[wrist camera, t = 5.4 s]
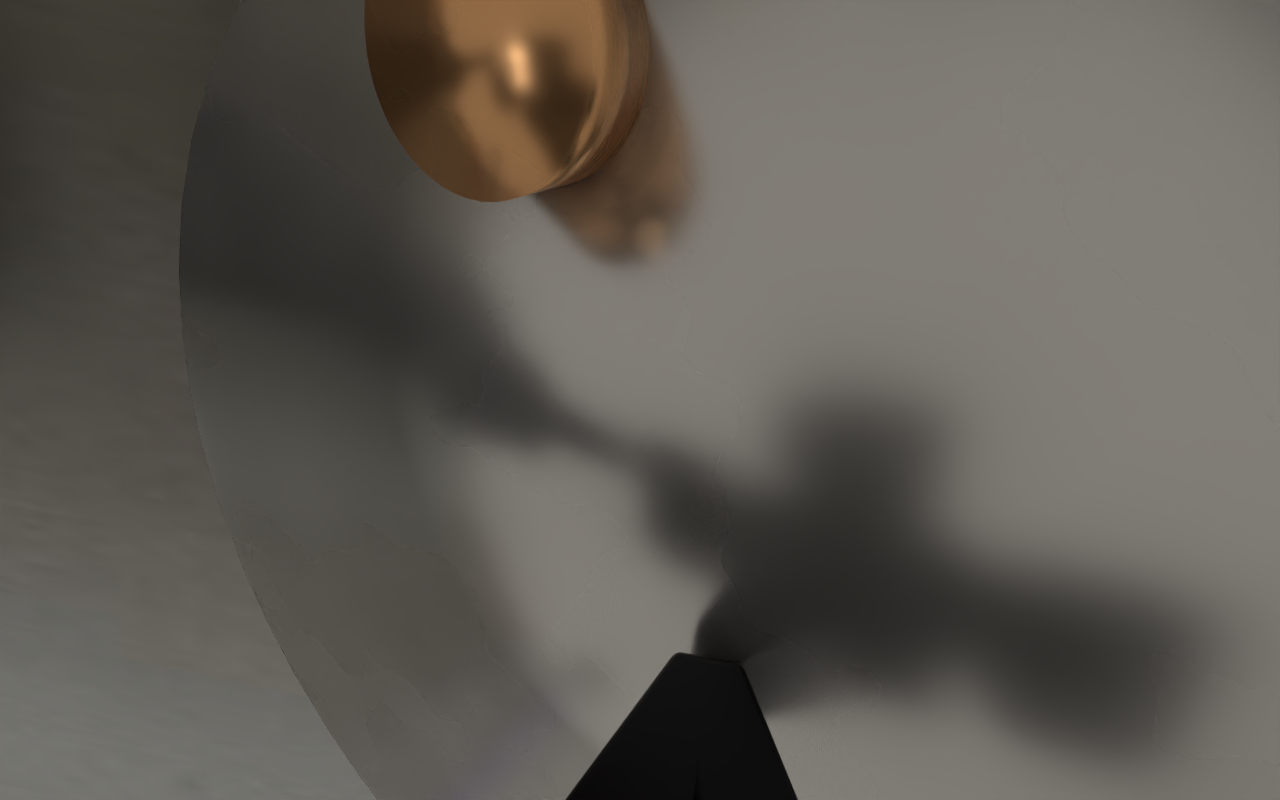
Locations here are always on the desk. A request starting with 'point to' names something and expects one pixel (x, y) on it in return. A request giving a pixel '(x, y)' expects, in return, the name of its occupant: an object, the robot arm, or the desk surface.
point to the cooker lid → (755, 381)
